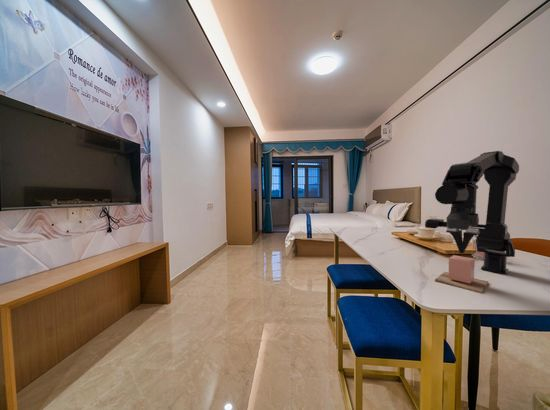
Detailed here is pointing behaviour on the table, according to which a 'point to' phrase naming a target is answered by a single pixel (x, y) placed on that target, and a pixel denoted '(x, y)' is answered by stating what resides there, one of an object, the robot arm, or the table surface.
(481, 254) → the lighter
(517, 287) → the table surface
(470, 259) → the pink rectangular block
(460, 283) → the taupe inverted t block
